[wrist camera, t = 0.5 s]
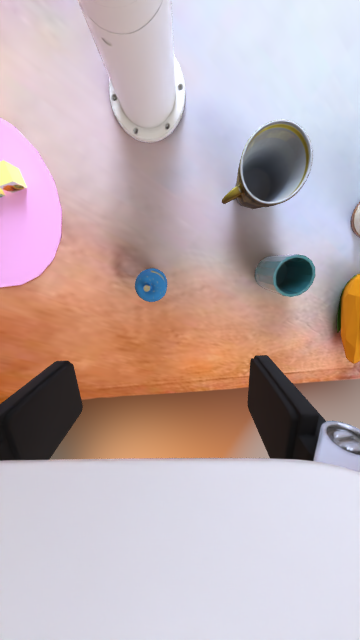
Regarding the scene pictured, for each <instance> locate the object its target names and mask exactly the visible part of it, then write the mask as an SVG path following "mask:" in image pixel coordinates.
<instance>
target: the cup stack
mask: <svg viewBox="0 0 360 640" xmlns="http://www.w3.org/2000/svg"><path fill="white" fill-rule="evenodd" d="M351 226H352V230H353V232H354V233H355V234H356V235H357V236H358V237H360V202H359V203H358V204H357V206H356V207H355V209H354V211H353V214H352V218H351Z"/></svg>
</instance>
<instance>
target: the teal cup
mask: <svg viewBox="0 0 360 640" xmlns="http://www.w3.org/2000/svg"><path fill="white" fill-rule="evenodd" d="M314 278H315V266H314V265H313V263H312V261H311V260H310V259H309V258H307V257H306V256H303V255H297V254H296V255H274V256H269V257H266V258H264V259H263V260H262V261H261V262H260V263H259V264H258V265H257V267H256V270H255V279H256V282H257V283H258V285H259V286H261V287H262V288H264V289H266V290H269V291H272V292H275V293H277V294H280V295H283V296H288V297H293V296H298V295H300V294H302V293H304V292H305V291H307V290H308V288H309V287H310V286H311V285H312V283H313V280H314Z"/></svg>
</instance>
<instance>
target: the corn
mask: <svg viewBox="0 0 360 640" xmlns="http://www.w3.org/2000/svg"><path fill="white" fill-rule="evenodd" d="M340 329H341V338H342V342H343V347H344V351H345V355H346V358H347V359H348V360H349V361H350V362H352V363H353V364H354V363H357V362H359V361H360V274H357V275H356V276H354V277H353V278H351V279H350V281H349V282H347V284H346V286H345V287H344V289H343V291H342V294H341V297H340V303H339V309H338V318H337V333H338V332H339V331H340Z"/></svg>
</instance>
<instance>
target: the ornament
mask: <svg viewBox="0 0 360 640" xmlns="http://www.w3.org/2000/svg"><path fill="white" fill-rule="evenodd" d="M135 289H136V292H137V294H138V295H139V297H140V298H142V299H143V300H145V301H148V302H155V301H158V300H160V299H161V298H163V296H164V295H165V293H166V290H167V279H166V276H165V275H164V273H163V272H161V271H160V270H158V269H155V268H150V269H146V270H144V271H142V272H141V273H140V274H139V275H138V277H137V279H136V281H135Z"/></svg>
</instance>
